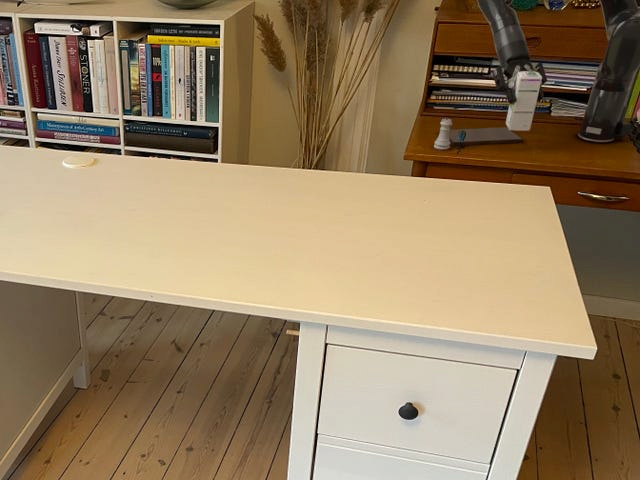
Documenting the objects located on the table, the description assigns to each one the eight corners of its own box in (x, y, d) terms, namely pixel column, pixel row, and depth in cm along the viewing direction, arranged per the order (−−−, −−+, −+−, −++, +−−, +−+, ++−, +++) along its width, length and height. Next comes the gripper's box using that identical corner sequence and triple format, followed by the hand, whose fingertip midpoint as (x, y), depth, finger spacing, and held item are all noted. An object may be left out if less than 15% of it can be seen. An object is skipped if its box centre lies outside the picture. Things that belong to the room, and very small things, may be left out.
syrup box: (530, 131, 203) (544, 76, 194) (507, 130, 204) (520, 76, 196) (526, 124, 207) (539, 70, 199) (503, 124, 208) (516, 70, 200)
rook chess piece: (430, 147, 211) (435, 119, 207) (440, 144, 213) (445, 116, 209) (443, 151, 208) (448, 123, 204) (453, 148, 210) (458, 120, 206)
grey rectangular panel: (505, 130, 222) (505, 127, 221) (521, 142, 213) (522, 138, 212) (439, 133, 221) (440, 130, 221) (453, 145, 212) (454, 142, 212)
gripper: (495, 41, 198) (511, 96, 195) (542, 36, 200) (559, 91, 198) (480, 57, 205) (495, 111, 203) (525, 52, 208) (541, 106, 205)
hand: (526, 101), depth 200 cm, fingers closed on syrup box, 7 cm apart
